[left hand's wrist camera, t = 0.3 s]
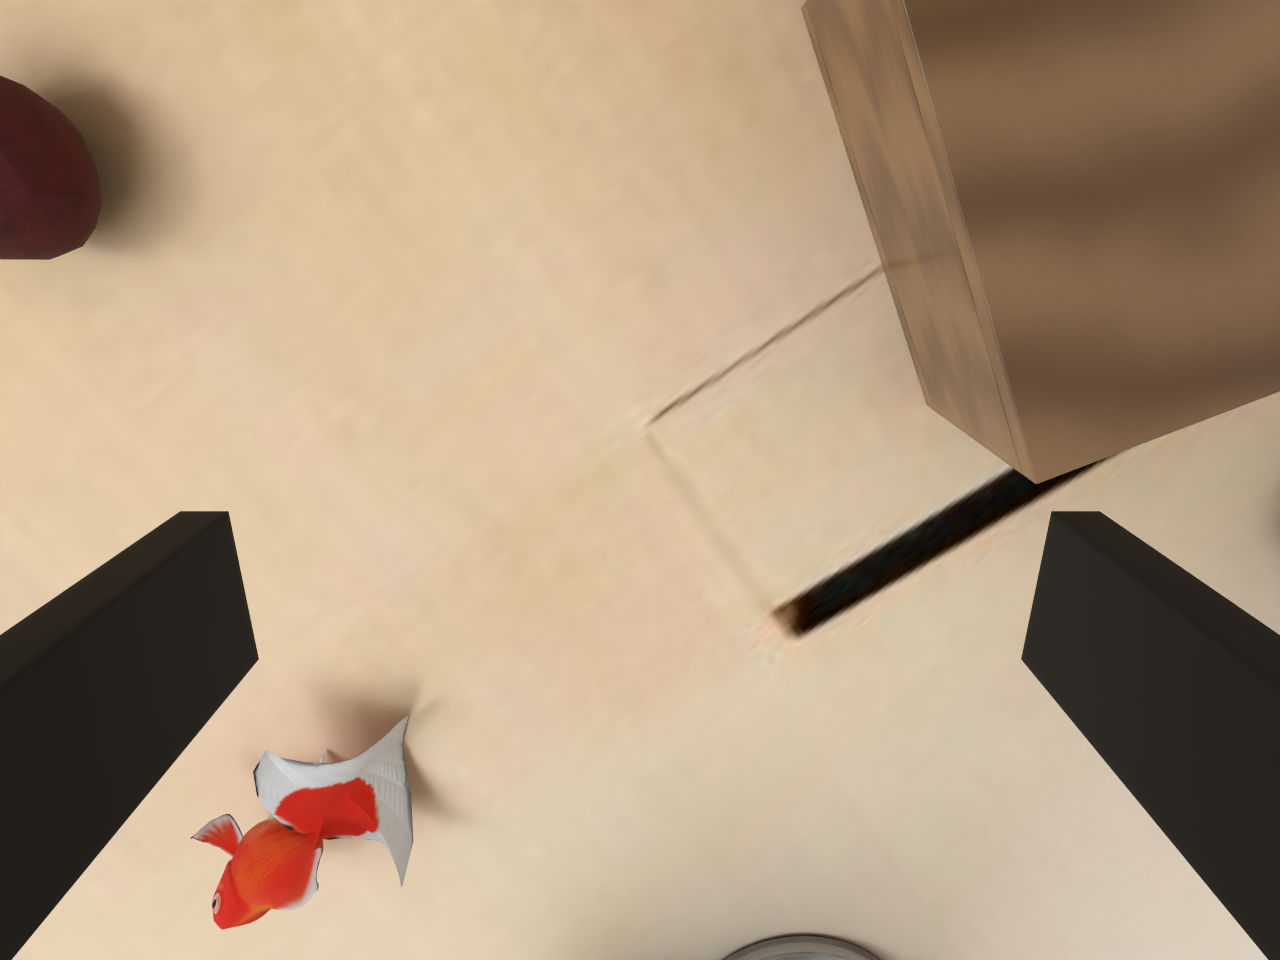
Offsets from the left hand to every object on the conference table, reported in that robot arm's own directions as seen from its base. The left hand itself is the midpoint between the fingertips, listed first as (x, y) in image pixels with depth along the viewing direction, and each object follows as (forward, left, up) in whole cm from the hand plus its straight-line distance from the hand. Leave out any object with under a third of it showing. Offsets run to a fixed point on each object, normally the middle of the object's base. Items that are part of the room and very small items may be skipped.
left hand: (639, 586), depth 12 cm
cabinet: (+7, -16, -28) cm, 33 cm away
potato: (+6, +28, -28) cm, 39 cm away
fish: (-28, +18, -28) cm, 44 cm away
